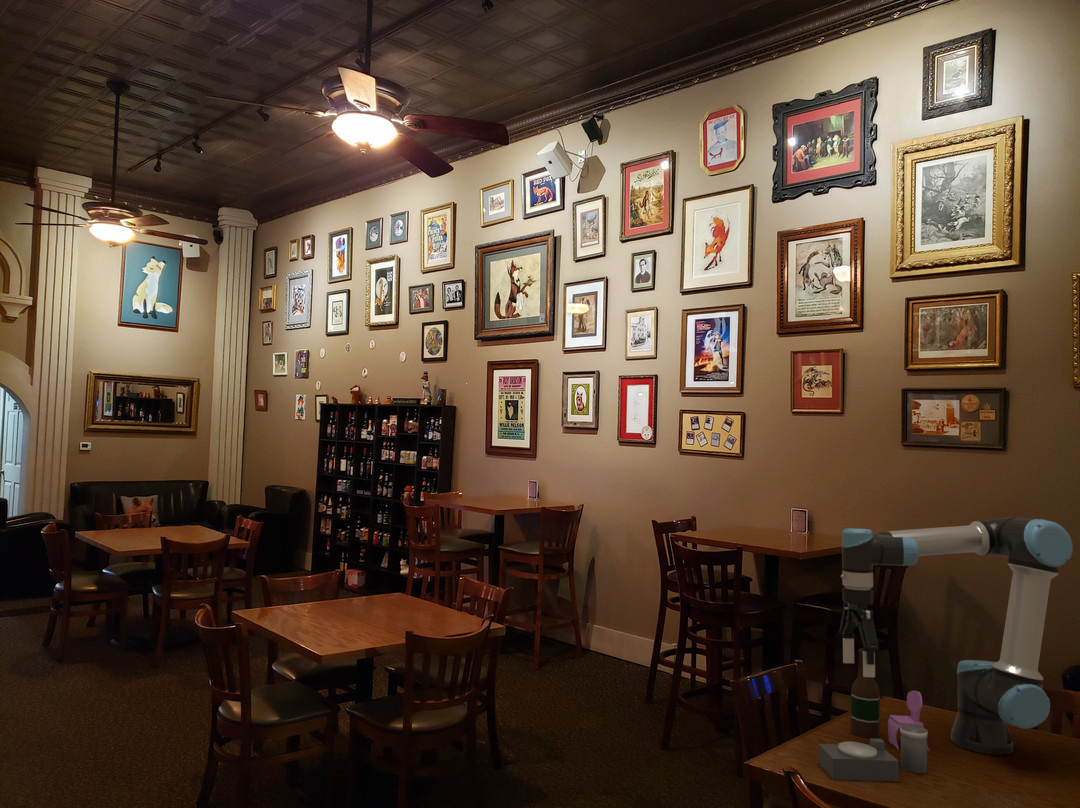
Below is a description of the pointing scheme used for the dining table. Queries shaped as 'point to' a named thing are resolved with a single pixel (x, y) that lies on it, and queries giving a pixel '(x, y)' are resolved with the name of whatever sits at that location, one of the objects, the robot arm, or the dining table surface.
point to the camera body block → (858, 761)
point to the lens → (914, 748)
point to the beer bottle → (865, 705)
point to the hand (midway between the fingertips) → (858, 669)
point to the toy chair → (906, 717)
